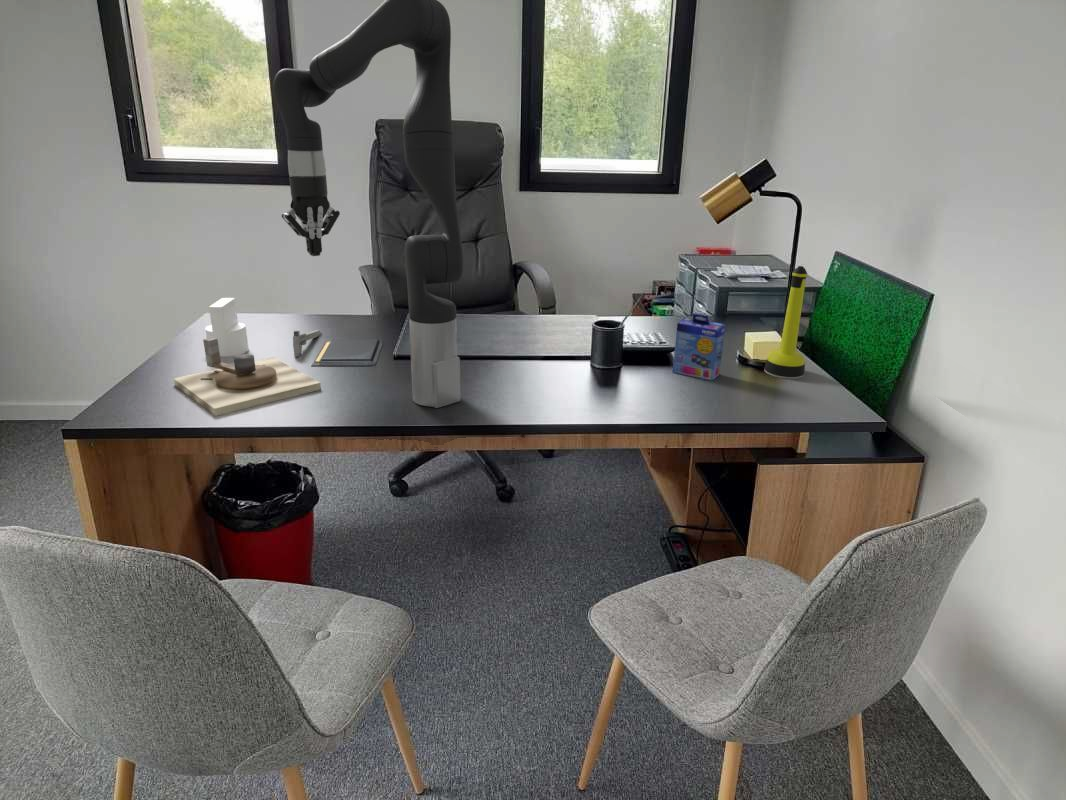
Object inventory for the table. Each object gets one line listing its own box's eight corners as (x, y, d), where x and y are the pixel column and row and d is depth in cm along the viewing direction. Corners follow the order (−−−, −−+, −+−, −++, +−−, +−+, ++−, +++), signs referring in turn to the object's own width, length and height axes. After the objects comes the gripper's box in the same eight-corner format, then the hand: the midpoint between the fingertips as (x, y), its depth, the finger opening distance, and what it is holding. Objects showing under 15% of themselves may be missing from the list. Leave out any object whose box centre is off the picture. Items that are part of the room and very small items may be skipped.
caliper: (299, 358, 170) (296, 332, 168) (294, 358, 170) (291, 332, 168) (321, 334, 190) (319, 310, 187) (317, 333, 190) (315, 310, 187)
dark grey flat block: (374, 361, 165) (307, 361, 164) (375, 369, 166) (308, 369, 165) (386, 336, 184) (325, 336, 183) (386, 343, 184) (326, 343, 183)
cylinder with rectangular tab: (216, 344, 178) (209, 297, 174) (253, 345, 179) (247, 298, 174) (202, 356, 170) (195, 306, 165) (241, 356, 170) (234, 307, 166)
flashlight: (829, 270, 155) (812, 262, 163) (789, 269, 155) (773, 261, 163) (810, 378, 164) (795, 366, 173) (772, 378, 164) (758, 366, 172)
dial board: (320, 389, 151) (320, 381, 151) (215, 415, 137) (214, 407, 136) (274, 363, 166) (273, 356, 165) (174, 385, 152) (173, 377, 151)
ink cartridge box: (671, 373, 166) (677, 312, 161) (679, 366, 170) (685, 307, 165) (712, 381, 161) (720, 319, 156) (720, 374, 166) (727, 313, 160)
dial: (288, 375, 153) (285, 344, 150) (242, 392, 143) (237, 359, 141) (234, 361, 161) (230, 331, 158) (187, 377, 151) (182, 345, 148)
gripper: (327, 170, 158) (333, 249, 165) (269, 173, 150) (278, 256, 156) (344, 173, 153) (350, 254, 160) (286, 175, 145) (294, 261, 151)
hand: (314, 255), depth 158 cm, fingers closed
